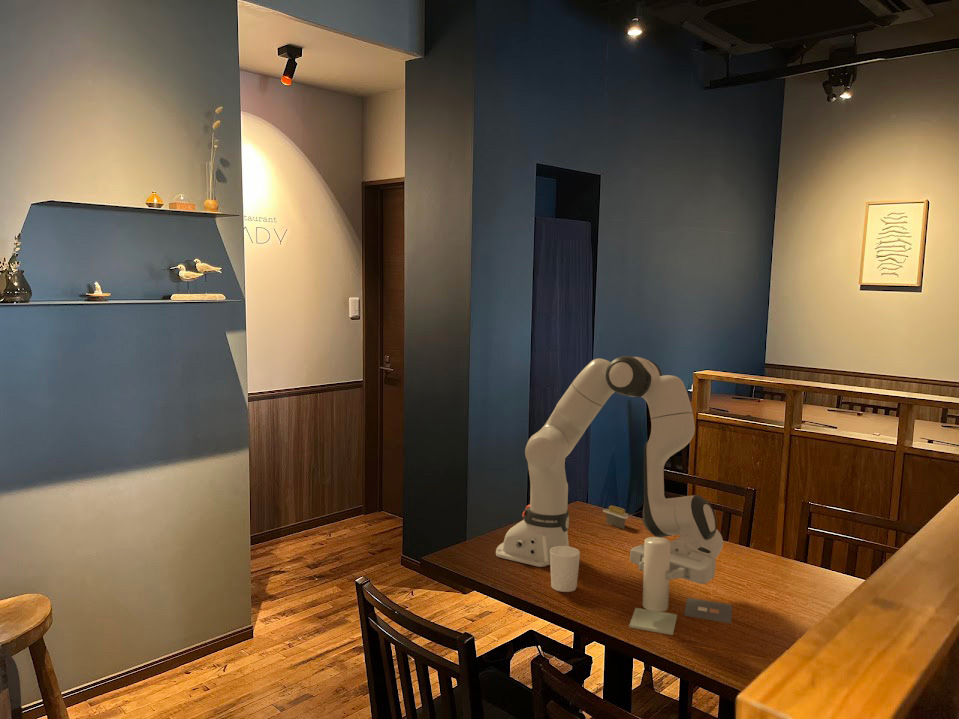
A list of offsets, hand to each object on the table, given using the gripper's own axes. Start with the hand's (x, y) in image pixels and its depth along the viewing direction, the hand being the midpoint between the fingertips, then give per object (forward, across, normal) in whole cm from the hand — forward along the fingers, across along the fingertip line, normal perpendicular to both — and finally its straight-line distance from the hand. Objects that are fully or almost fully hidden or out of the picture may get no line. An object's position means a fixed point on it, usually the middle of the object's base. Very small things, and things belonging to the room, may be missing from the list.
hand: (654, 571), depth 171 cm
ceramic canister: (-1, 0, +9) cm, 9 cm away
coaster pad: (-1, 0, +13) cm, 13 cm away
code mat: (-16, +6, +13) cm, 22 cm away
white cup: (-2, -28, +13) cm, 31 cm away
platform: (-56, -46, +14) cm, 74 cm away
